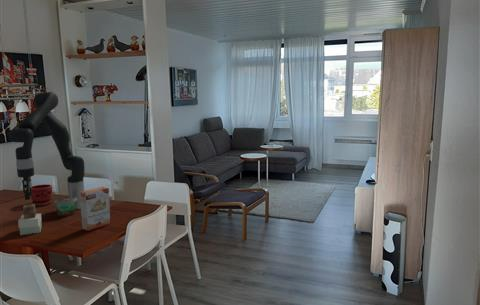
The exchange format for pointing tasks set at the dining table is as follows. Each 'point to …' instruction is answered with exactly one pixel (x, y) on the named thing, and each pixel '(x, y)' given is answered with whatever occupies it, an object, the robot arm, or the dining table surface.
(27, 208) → the walnut block
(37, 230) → the tower base
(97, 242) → the dining table surface
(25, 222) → the tower top
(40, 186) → the plant pot
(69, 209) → the food container
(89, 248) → the dining table surface
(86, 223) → the cracker box
